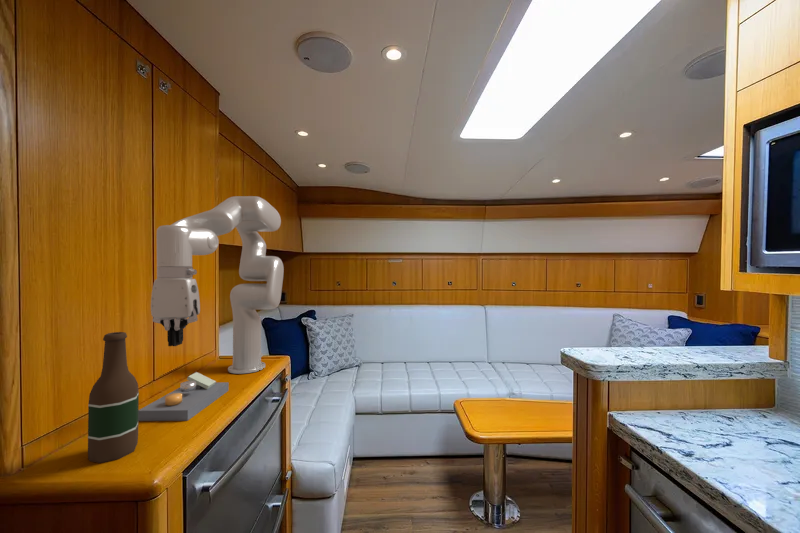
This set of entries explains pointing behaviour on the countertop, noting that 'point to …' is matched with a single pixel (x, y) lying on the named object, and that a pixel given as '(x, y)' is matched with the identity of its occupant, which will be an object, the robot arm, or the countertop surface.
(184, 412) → the panel
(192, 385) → the button metal
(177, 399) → the button orange
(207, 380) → the block
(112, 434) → the beer bottle
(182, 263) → the robot arm
